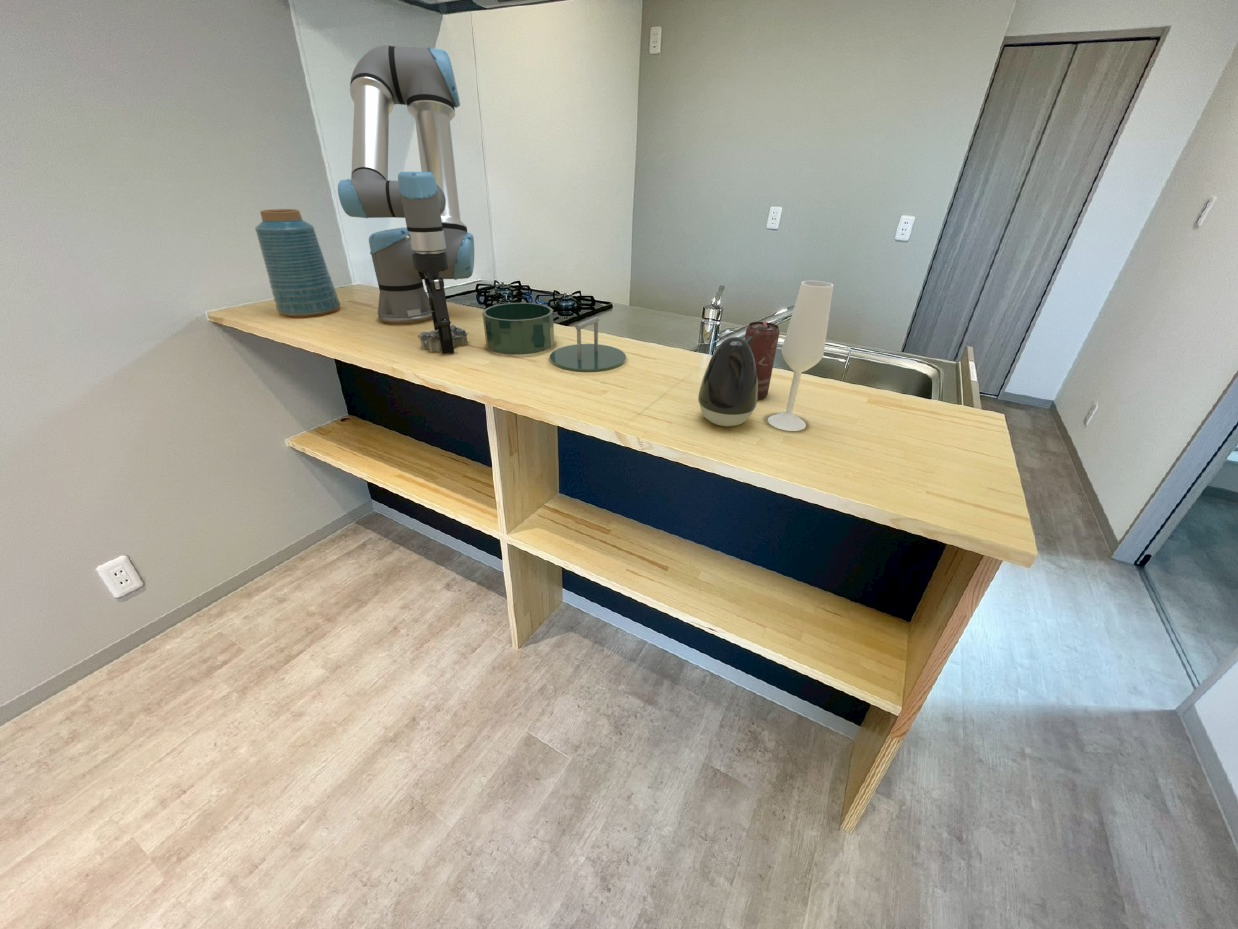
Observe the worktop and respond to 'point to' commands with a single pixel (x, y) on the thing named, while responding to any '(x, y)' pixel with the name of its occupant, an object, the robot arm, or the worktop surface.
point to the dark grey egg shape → (730, 383)
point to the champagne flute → (804, 343)
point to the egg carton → (433, 340)
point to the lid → (588, 353)
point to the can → (763, 352)
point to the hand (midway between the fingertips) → (444, 344)
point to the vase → (295, 265)
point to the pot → (519, 328)
